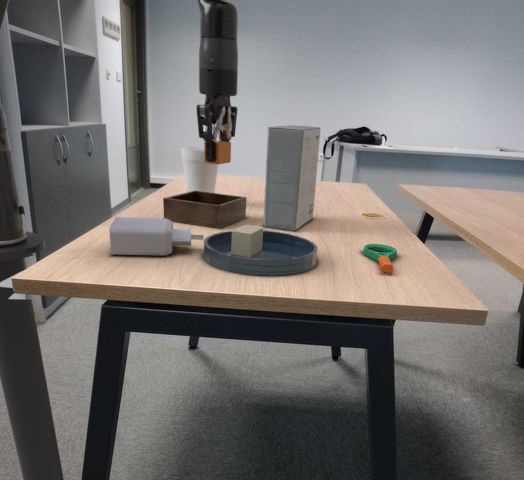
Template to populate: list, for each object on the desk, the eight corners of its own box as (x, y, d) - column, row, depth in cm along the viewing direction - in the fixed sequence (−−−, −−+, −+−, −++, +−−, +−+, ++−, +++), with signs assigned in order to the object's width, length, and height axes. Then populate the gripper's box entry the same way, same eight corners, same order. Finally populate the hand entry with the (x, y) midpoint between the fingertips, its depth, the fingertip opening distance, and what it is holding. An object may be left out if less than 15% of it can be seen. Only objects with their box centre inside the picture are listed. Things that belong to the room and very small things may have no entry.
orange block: (204, 162, 98) (204, 141, 96) (216, 160, 103) (216, 140, 101) (219, 164, 97) (219, 143, 95) (230, 162, 102) (231, 142, 100)
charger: (203, 258, 79) (111, 256, 77) (202, 244, 87) (118, 242, 85) (203, 230, 77) (108, 227, 75) (202, 218, 85) (116, 215, 83)
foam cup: (186, 198, 127) (185, 146, 121) (220, 201, 127) (221, 148, 121) (179, 205, 118) (178, 149, 112) (216, 207, 118) (216, 151, 112)
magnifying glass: (361, 248, 91) (363, 240, 90) (393, 251, 90) (395, 242, 89) (367, 272, 77) (369, 262, 76) (405, 276, 77) (407, 266, 76)
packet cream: (231, 254, 80) (231, 230, 78) (244, 247, 84) (244, 224, 83) (249, 257, 79) (251, 233, 77) (262, 250, 83) (263, 227, 82)
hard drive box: (282, 214, 115) (289, 124, 106) (313, 218, 113) (322, 127, 104) (261, 227, 102) (267, 125, 93) (295, 231, 100) (304, 128, 91)
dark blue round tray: (182, 262, 76) (182, 247, 75) (232, 238, 92) (233, 225, 91) (295, 283, 70) (297, 267, 69) (328, 253, 86) (329, 239, 85)
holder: (163, 220, 103) (162, 198, 100) (194, 210, 114) (194, 190, 112) (219, 228, 98) (220, 206, 96) (245, 217, 110) (246, 197, 108)
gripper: (217, 70, 99) (216, 156, 107) (182, 63, 87) (184, 161, 95) (250, 71, 97) (247, 159, 104) (219, 64, 85) (218, 165, 92)
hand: (217, 160), depth 100 cm, fingers closed on orange block, 5 cm apart
